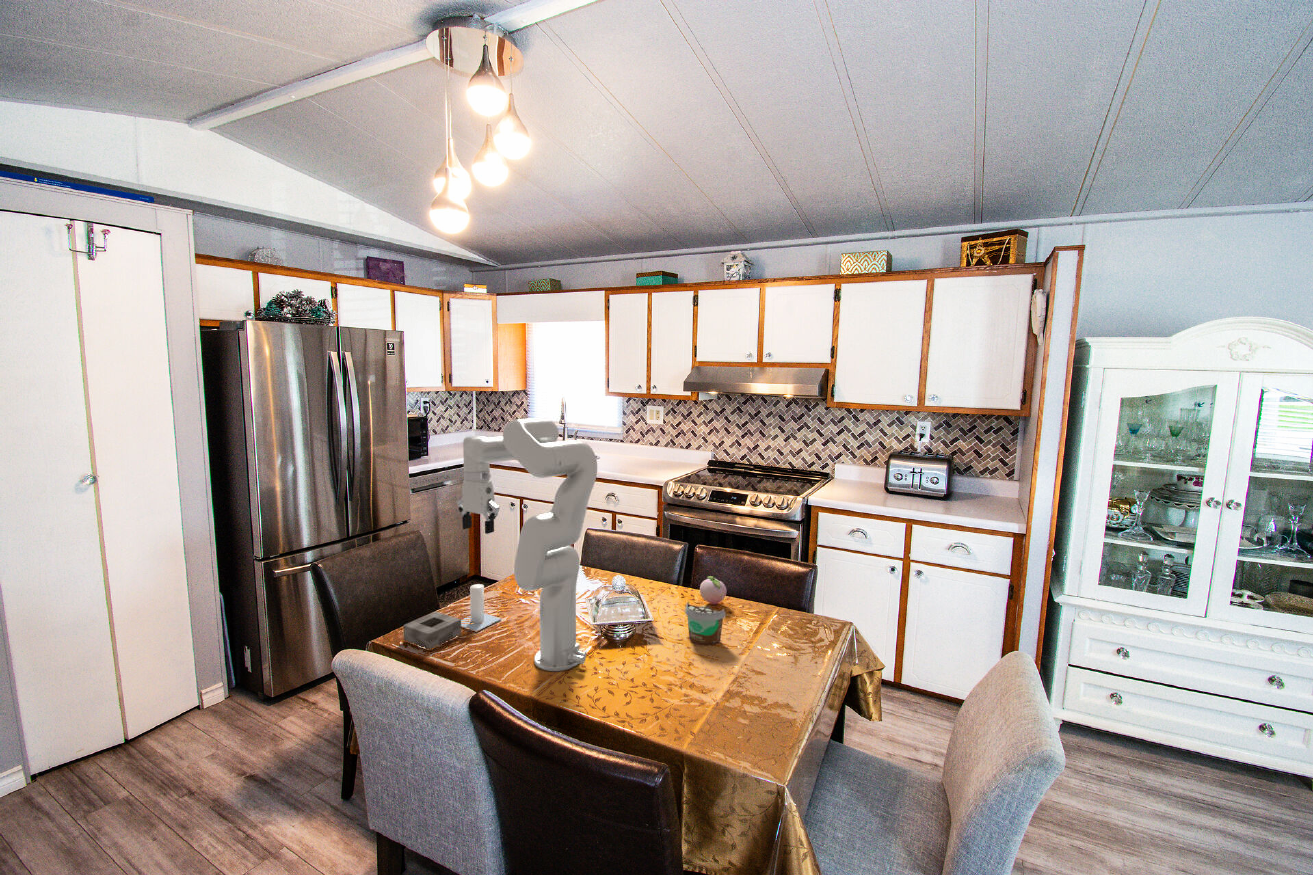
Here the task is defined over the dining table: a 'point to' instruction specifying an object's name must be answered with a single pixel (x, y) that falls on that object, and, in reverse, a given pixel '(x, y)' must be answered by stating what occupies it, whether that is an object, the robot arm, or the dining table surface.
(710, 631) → the food container
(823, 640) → the dining table surface
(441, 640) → the socket block
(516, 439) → the robot arm
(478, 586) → the peg
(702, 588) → the decorative fruit
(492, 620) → the mat
